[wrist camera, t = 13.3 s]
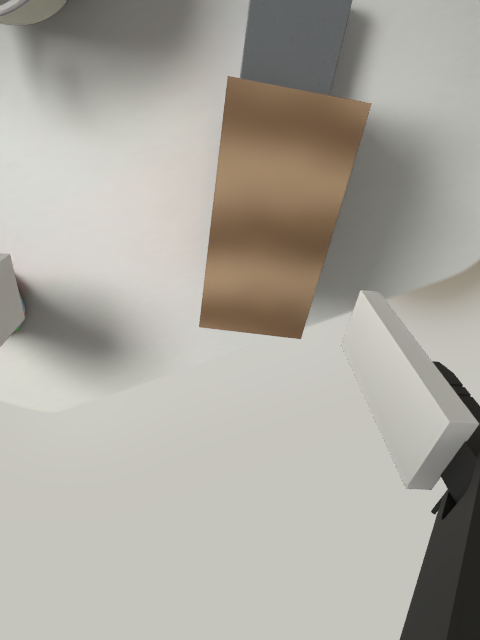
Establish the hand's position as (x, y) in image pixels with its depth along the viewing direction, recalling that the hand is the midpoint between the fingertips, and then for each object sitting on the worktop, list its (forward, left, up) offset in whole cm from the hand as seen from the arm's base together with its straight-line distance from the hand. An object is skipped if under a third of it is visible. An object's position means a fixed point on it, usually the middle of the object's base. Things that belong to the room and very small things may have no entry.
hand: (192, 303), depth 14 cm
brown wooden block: (0, +4, -18) cm, 18 cm away
